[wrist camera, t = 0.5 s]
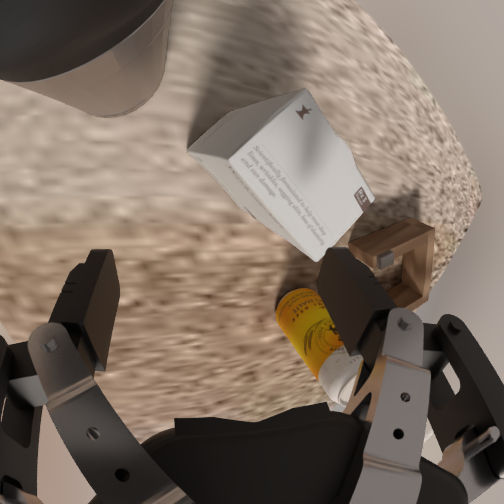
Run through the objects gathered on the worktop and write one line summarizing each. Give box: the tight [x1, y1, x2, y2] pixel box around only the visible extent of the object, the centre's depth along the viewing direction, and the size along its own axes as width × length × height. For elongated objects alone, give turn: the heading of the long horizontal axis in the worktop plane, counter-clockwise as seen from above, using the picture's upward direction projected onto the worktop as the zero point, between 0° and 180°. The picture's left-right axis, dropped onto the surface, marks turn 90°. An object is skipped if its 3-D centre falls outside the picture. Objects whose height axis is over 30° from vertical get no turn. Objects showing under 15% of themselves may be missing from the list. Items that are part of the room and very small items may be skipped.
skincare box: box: [186, 88, 375, 262], centre depth 21 cm, size 8×6×15 cm
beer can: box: [276, 288, 363, 407], centre depth 29 cm, size 6×6×15 cm
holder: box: [349, 218, 435, 311], centre depth 36 cm, size 12×12×6 cm
